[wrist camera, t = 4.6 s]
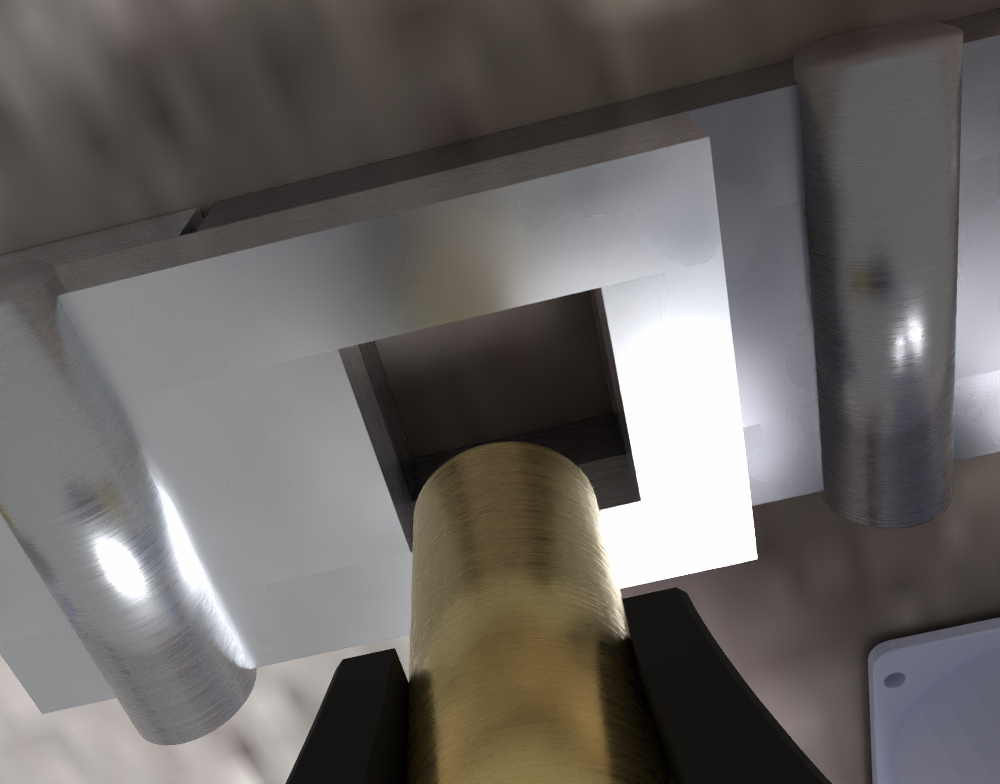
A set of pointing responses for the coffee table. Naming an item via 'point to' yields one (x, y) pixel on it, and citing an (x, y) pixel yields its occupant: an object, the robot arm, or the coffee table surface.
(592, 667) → the brass pin
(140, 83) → the coffee table surface
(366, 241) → the silver hollow frame
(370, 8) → the coffee table surface
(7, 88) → the coffee table surface
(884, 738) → the robot arm
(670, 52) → the coffee table surface
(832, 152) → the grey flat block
